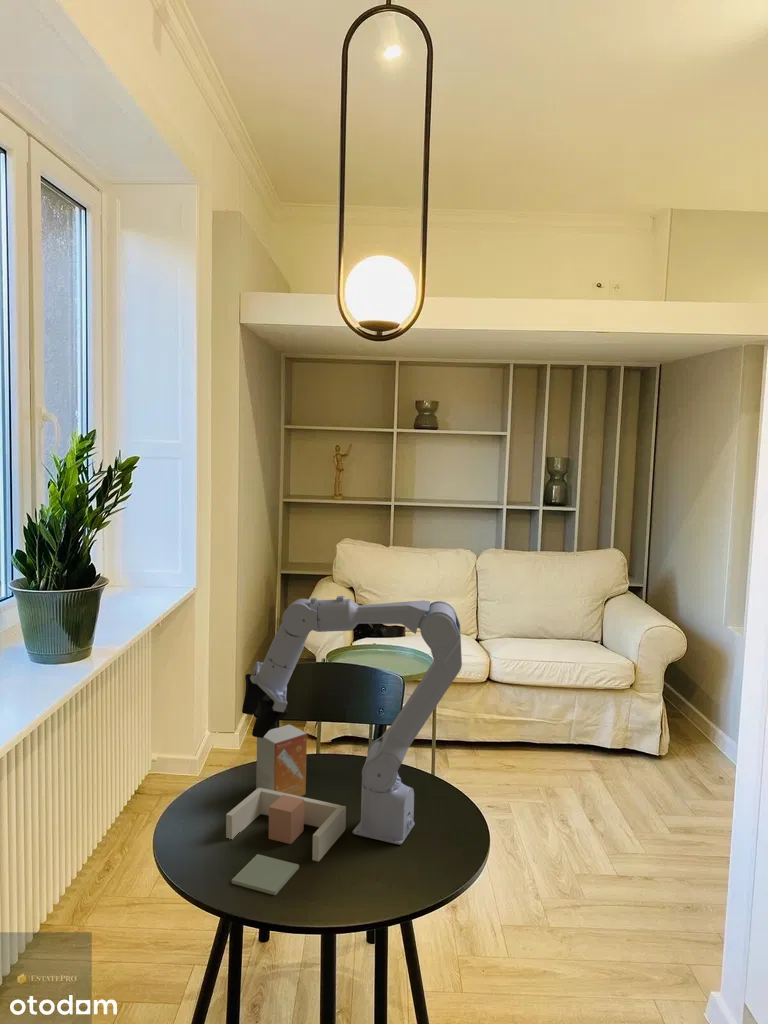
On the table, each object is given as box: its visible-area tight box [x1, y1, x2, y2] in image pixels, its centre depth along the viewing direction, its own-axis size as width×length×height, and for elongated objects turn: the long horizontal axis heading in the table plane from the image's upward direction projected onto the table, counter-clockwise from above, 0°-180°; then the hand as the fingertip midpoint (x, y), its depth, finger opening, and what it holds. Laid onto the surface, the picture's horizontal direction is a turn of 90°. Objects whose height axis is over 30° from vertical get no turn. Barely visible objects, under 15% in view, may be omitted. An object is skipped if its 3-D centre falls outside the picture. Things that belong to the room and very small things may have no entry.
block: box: [268, 795, 305, 845], centre depth 132 cm, size 4×5×6 cm
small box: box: [255, 724, 308, 797], centre depth 146 cm, size 8×6×13 cm
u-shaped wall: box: [225, 787, 347, 862], centre depth 132 cm, size 18×11×4 cm, turn 69°
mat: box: [231, 853, 300, 896], centre depth 120 cm, size 8×8×1 cm
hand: (252, 724), depth 135 cm, fingers open, 7 cm apart
